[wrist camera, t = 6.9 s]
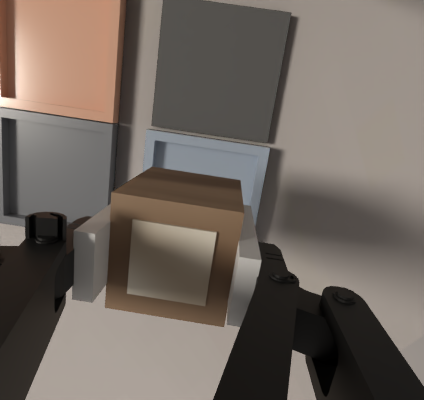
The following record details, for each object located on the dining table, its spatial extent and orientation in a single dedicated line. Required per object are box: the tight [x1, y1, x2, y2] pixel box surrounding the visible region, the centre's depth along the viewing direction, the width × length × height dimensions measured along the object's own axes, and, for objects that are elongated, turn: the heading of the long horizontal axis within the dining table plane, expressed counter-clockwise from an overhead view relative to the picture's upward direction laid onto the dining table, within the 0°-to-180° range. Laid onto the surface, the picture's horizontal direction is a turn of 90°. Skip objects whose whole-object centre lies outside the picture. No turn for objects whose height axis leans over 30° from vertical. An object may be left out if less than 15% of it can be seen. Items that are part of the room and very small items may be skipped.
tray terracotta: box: [0, 0, 127, 123], centre depth 23 cm, size 9×9×1 cm
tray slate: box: [143, 129, 270, 226], centre depth 25 cm, size 9×9×1 cm
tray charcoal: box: [0, 107, 118, 227], centre depth 25 cm, size 9×9×1 cm
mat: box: [151, 0, 291, 143], centre depth 23 cm, size 9×9×1 cm
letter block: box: [105, 167, 244, 327], centre depth 15 cm, size 5×5×6 cm
